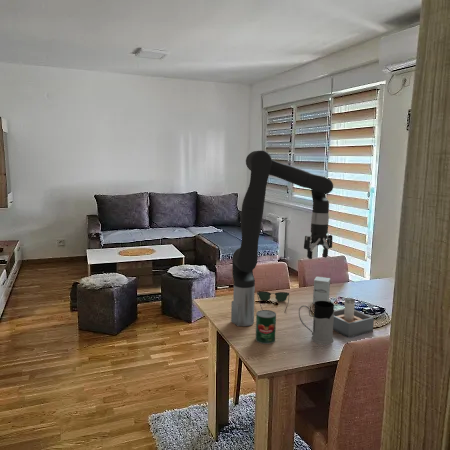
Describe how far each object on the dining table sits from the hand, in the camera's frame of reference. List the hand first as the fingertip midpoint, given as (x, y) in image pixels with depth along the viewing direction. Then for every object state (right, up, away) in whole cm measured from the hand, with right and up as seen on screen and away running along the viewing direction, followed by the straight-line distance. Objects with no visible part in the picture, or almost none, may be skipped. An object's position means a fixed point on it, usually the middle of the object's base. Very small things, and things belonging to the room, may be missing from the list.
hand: (317, 258), depth 183 cm
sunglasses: (-18, -26, +17) cm, 36 cm away
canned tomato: (-26, -31, -21) cm, 45 cm away
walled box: (+11, -30, -9) cm, 33 cm away
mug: (-5, -31, -20) cm, 37 cm away
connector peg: (+11, -29, -9) cm, 32 cm away
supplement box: (+7, -25, +22) cm, 34 cm away
